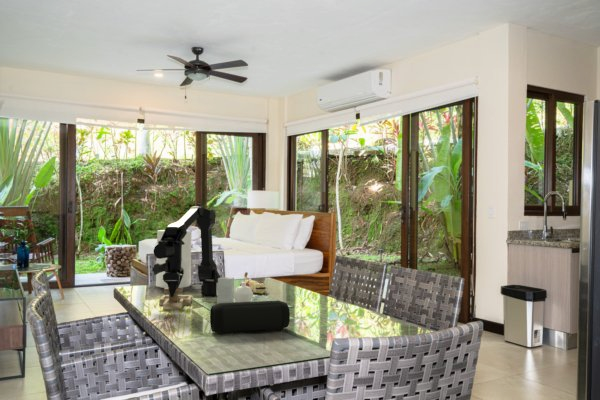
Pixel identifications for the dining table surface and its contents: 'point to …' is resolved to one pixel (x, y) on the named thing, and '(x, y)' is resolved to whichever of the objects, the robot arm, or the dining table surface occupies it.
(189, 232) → the cylinder
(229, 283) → the skincare box
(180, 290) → the tan brick
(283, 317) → the portable speaker
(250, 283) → the cat figure
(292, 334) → the dining table surface
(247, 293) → the white vase
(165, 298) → the keyhole cradle
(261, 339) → the dining table surface
